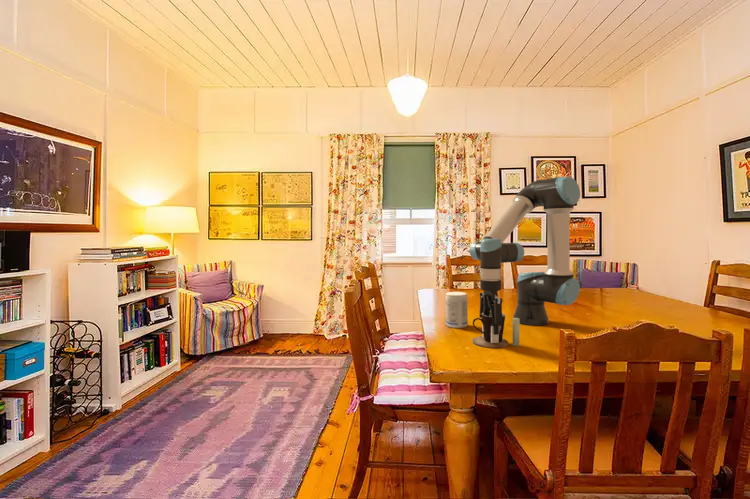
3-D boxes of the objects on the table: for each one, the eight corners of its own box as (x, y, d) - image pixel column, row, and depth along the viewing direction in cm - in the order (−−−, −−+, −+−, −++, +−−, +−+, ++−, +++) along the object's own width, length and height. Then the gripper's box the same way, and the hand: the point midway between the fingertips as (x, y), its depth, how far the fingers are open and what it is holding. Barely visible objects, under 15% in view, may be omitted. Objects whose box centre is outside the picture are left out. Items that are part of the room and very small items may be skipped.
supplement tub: (461, 322, 178) (461, 291, 178) (471, 327, 169) (471, 294, 168) (442, 324, 176) (442, 292, 176) (450, 329, 167) (450, 295, 166)
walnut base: (493, 336, 155) (493, 334, 155) (515, 345, 143) (515, 343, 143) (465, 340, 150) (465, 338, 150) (486, 349, 138) (486, 347, 138)
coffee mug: (505, 338, 149) (505, 312, 149) (504, 344, 141) (504, 317, 141) (474, 335, 153) (474, 310, 153) (472, 341, 145) (472, 315, 145)
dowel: (516, 344, 145) (516, 317, 144) (520, 345, 143) (521, 319, 142) (511, 344, 144) (511, 318, 143) (515, 346, 142) (515, 319, 141)
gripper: (470, 276, 154) (470, 333, 155) (493, 283, 135) (493, 348, 136) (488, 276, 155) (487, 332, 157) (513, 282, 136) (512, 346, 138)
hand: (490, 339), depth 146 cm, fingers closed on coffee mug, 6 cm apart
